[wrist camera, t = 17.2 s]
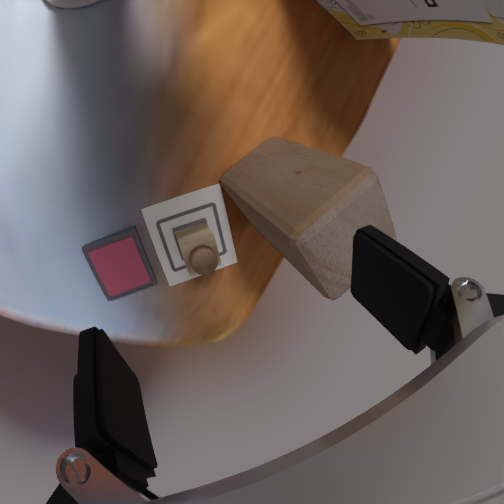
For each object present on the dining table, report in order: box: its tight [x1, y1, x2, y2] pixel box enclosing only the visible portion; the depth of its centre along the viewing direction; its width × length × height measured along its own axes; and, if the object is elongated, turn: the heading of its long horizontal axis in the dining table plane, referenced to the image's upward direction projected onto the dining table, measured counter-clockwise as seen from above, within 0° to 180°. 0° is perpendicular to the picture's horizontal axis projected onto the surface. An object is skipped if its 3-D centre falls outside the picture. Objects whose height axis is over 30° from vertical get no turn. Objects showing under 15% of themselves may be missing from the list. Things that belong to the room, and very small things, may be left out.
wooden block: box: [220, 137, 396, 300], centre depth 34 cm, size 10×10×20 cm
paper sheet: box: [141, 183, 237, 287], centre depth 42 cm, size 13×11×1 cm
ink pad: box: [82, 226, 157, 300], centre depth 39 cm, size 9×8×1 cm
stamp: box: [172, 218, 222, 276], centre depth 39 cm, size 5×5×7 cm
